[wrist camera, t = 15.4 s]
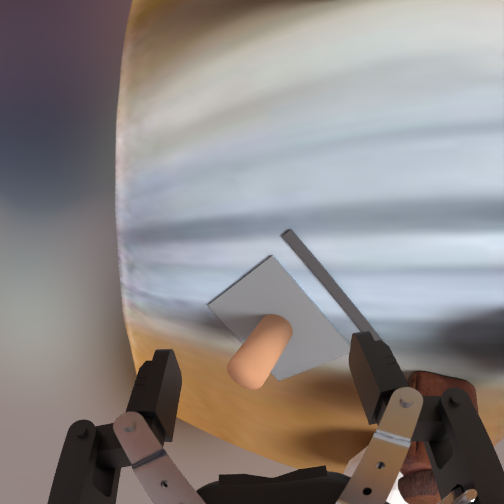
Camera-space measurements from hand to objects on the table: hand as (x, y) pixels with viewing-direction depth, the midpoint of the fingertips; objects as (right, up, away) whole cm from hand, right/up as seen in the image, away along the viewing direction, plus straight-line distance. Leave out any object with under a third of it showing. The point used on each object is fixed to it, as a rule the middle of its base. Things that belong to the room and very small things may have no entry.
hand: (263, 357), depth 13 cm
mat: (+4, -4, +27) cm, 27 cm away
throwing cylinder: (+3, -6, +27) cm, 28 cm away
